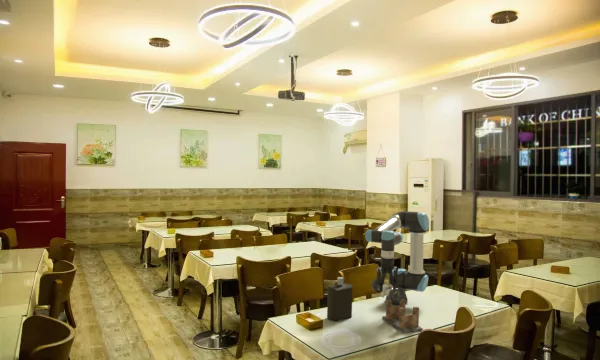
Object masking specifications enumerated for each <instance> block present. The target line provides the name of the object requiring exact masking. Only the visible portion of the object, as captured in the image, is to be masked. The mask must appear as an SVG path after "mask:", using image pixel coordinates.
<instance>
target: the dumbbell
mask: <svg viewBox="0 0 600 360" xmlns="http://www.w3.org/2000/svg"><path fill="white" fill-rule="evenodd" d="M383 286H384V295H385V296H389V299H390V301H392V302H393V303H399V302H400V301H401V300H402V298H403V293H402V291H401V290H399V289H398V288H393V289H392V288H391V287H389V285H387V284H386V283H385V282H384V284H383ZM371 288H372V290H374V291H375V292H376V293H381V291H380V286H379V285H377V277H376V278H375V279H373V280H372V282H371Z"/></svg>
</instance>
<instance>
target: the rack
mask: <svg viewBox="0 0 600 360" xmlns="http://www.w3.org/2000/svg"><path fill="white" fill-rule="evenodd" d="M385 304H386V305H385V315H383V316H381V317H382V320H384V321H385V323H388V324H389V325H391V326H392V327H393V328H395V329H397V331H400V332H401V333H402V334H406V333H407V334H408V333H414V332H415V333H417V332H422V331H421V330H423V329H424V328H423V327H421V326H420V325H419V324H420V315H419V314H420V306H413V307H412V313H407V314H406V304H405V300H404V299H402V300H401V301H400V304H399V305H393V304H392V301H390V300H386V299H385Z"/></svg>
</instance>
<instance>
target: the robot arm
mask: <svg viewBox="0 0 600 360" xmlns="http://www.w3.org/2000/svg"><path fill="white" fill-rule="evenodd" d="M400 228H401V229H408V230H407V232H408V233H409V235H410V238H409V239H410V241H409V243H410V244H409V247H410V250H409V268H408V270H406V269H405V268H399V267H397V266H395V265H394V264H395V258H394V257H395V246H396V245H400V244H401V243H402V241H403V240H404V236H403V234H402V233H401V232H399V231H395V230H397V229H400ZM429 228H430V220H429V217H428V215H427V213H425V212H421V211H406V210H405V211H404V210H403V211H402V210H401V211H399V212H396V213H394V214H391V215H390V216H388V218H387V220H385V221H384V222H382V224H380V225H378V226H377V227H376V228H374V229H367V230H366V231H365V236H364V237H365V240H366V242H370V243H377V244H381V249H380V267H376V268H375V270H376V278H377V285H379V286H380V291H381V292H380V297H381V298H385V301H386V300H390V299H389V296H387V295H385V294H384V286H383V284H384V283H385V281H386V280H385V279H386V276H387V274H388V286H389V287H391V288H392V289H393V288H398V289H399V290H401V291H402V293H403V298H402V299H404V300H405V305H408V303H409V302H408V296H407V293H406V290H410V291H413V292H414V291H415V292H421V293H423V292H425V290H426V289H427V287H428V283H429V275H428V274H426V270H424V235H425V234H426V232H427V231H428V230H429ZM399 304H400V302H399V303H393V302H392V306H399Z"/></svg>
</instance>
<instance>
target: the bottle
mask: <svg viewBox="0 0 600 360" xmlns="http://www.w3.org/2000/svg"><path fill="white" fill-rule="evenodd" d="M336 280H337V283H336V284H334V285H329V286H327V307H326V309H327V310H326V316H327V317H326V318H327V320H329V321H332V322H337V321H338V322H339V321H341V320H345V319H349V318H352V317H353V313H352V312H353V285H352V284H349V283H346V282H344V276H343V277H342V276H338V277H337V279H336Z"/></svg>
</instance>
